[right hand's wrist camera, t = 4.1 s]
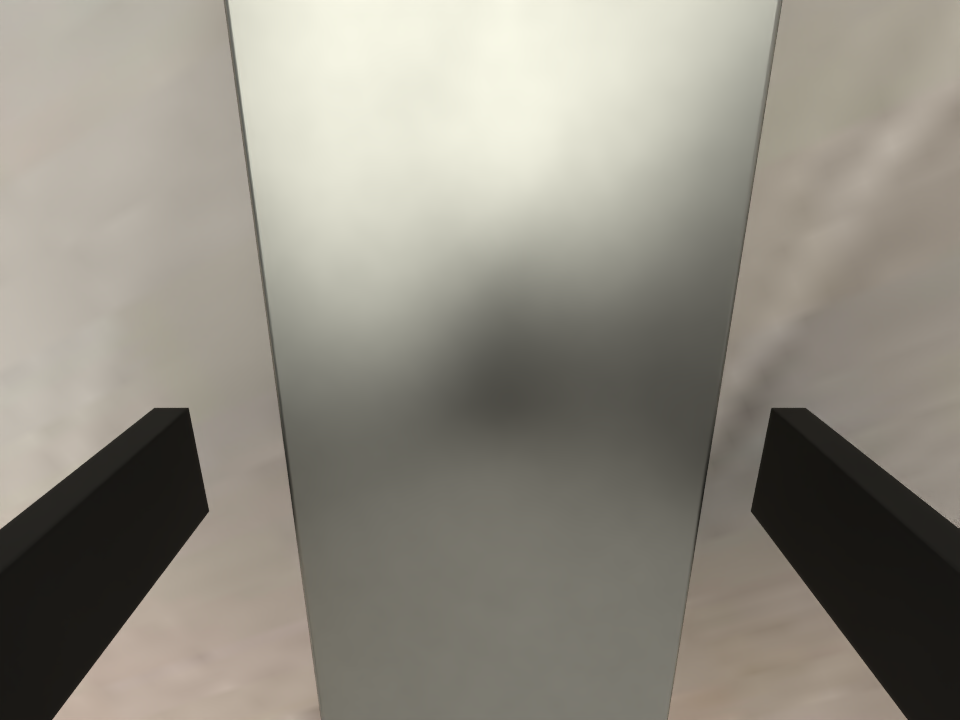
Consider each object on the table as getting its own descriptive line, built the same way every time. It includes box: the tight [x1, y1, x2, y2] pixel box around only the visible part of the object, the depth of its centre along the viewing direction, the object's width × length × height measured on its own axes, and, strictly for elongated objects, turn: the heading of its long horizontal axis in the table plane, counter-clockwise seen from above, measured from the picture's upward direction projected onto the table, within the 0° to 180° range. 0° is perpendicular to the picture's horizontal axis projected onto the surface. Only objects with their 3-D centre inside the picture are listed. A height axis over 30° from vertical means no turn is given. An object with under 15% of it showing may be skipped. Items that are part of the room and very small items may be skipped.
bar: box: [224, 0, 782, 720], centre depth 9 cm, size 24×6×8 cm, turn 0°
